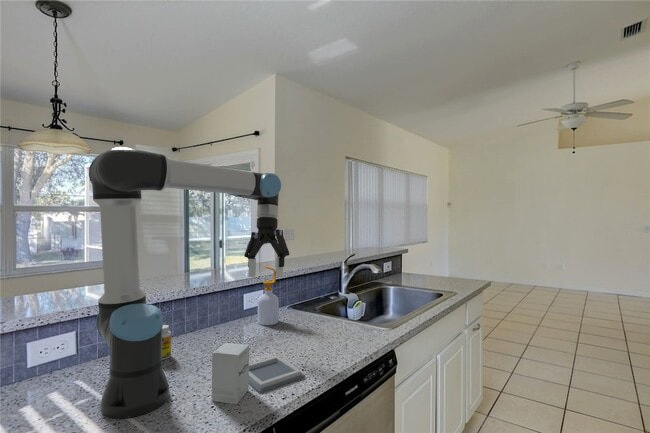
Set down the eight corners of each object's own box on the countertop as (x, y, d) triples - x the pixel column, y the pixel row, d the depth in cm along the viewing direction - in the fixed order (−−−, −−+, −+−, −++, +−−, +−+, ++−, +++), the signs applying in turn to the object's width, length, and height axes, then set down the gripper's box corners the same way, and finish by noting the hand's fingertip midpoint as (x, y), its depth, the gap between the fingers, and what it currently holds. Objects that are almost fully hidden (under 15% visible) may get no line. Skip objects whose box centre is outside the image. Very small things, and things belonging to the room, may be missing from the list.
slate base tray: (259, 393, 93) (259, 386, 93) (235, 372, 105) (235, 366, 105) (304, 377, 103) (304, 371, 103) (278, 359, 114) (278, 354, 114)
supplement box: (237, 405, 88) (238, 355, 87) (210, 401, 89) (211, 352, 89) (249, 390, 95) (250, 344, 95) (224, 387, 96) (225, 341, 96)
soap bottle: (256, 320, 155) (257, 265, 155) (276, 318, 158) (277, 264, 158) (258, 326, 147) (259, 268, 146) (280, 324, 149) (280, 267, 149)
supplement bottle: (152, 362, 111) (152, 330, 111) (152, 355, 116) (152, 325, 116) (171, 359, 114) (172, 328, 113) (170, 352, 119) (170, 323, 118)
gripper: (300, 215, 123) (298, 277, 119) (251, 222, 137) (249, 277, 134) (285, 212, 117) (284, 276, 113) (236, 219, 132) (233, 276, 128)
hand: (265, 277), depth 123 cm, fingers open, 13 cm apart
